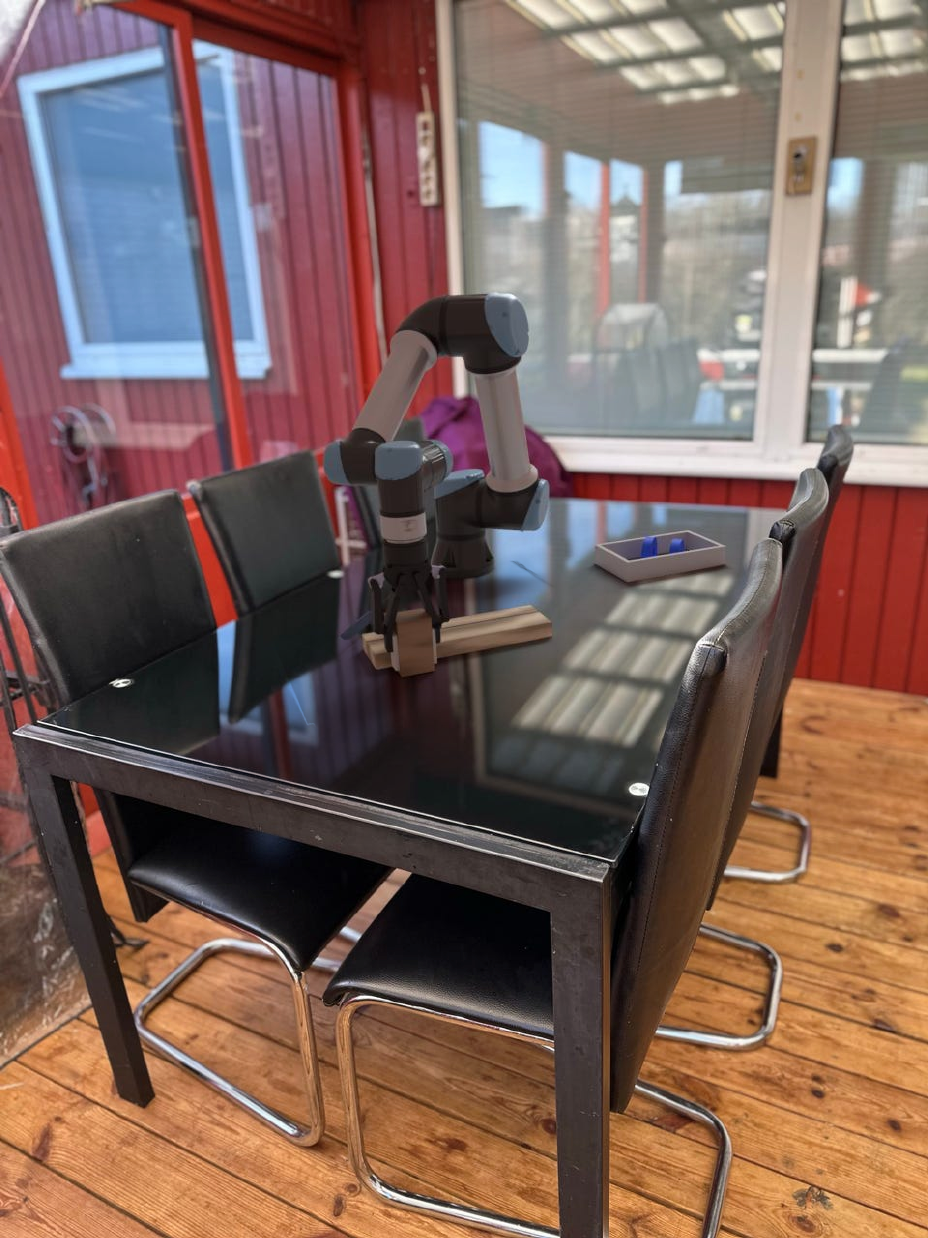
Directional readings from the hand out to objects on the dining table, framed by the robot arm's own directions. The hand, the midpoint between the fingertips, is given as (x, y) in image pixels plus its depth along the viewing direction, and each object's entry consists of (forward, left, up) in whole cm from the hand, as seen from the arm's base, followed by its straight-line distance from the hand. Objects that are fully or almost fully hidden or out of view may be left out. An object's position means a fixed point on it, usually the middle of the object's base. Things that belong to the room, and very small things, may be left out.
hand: (414, 663), depth 155 cm
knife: (-21, -3, -1) cm, 21 cm away
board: (-8, +11, -1) cm, 14 cm away
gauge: (0, 0, -1) cm, 1 cm away
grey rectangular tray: (-31, +68, -1) cm, 75 cm away
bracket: (-34, +72, -4) cm, 80 cm away
